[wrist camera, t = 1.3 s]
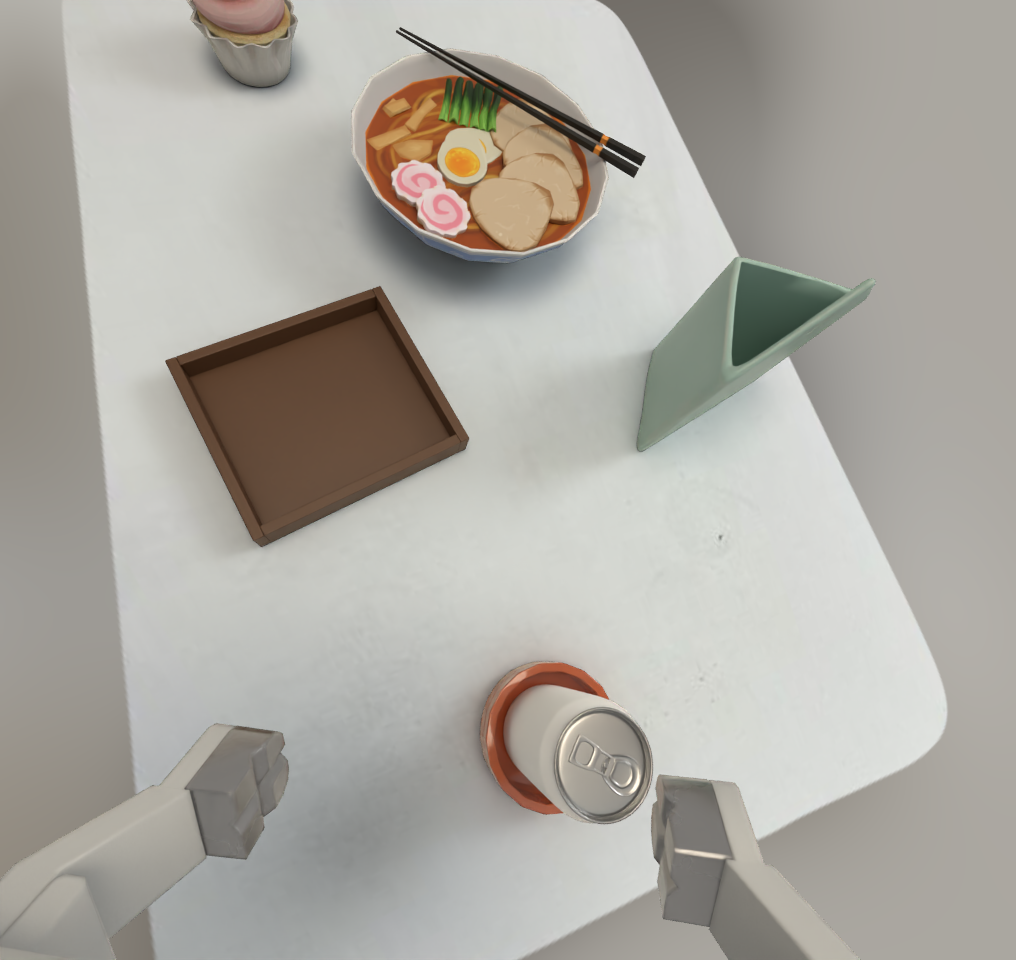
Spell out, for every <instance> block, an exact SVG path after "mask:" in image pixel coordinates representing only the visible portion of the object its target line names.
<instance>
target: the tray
mask: <svg viewBox="0 0 1016 960" xmlns="http://www.w3.org/2000/svg"><path fill="white" fill-rule="evenodd" d="M166 364H167V366H168V368H169V370H170V372H171V374H172V376H173V378H174V380H175V382H176V384H177V386H178V388H179V390H180V392H181V394H182V396H183V399H184V401H185V403H186V405H187V407H188V409H189V411H190V413H191V415H192V417H193V419H194V421H195V423H196V425H197V427H198V429H199V431H200V433H201V435H202V437H203V439H204V441H205V443H206V445H207V447H208V450H209V452H210V454H211V456H212V458H213V460H214V462H215V464H216V466H217V468H218V470H219V472H220V474H221V476H222V478H223V480H224V482H225V484H226V486H227V488H228V490H229V492H230V494H231V496H232V499H233V501H234V503H235V505H236V507H237V509H238V511H239V513H240V515H241V517H242V519H243V521H244V523H245V525H246V527H247V529H248V531H249V533H250V535H251V537H252V539H253V541H255V542H256V543H257V544H259V545H260V546H261V547H263V546H265V545H267V544H269V543H271V542H273V541H275V540H277V539H279V538H281V537H283V536H286V535H288V534H290V533H292V532H294V531H296V530H298V529H300V528H302V527H304V526H306V525H308V524H310V523H312V522H315V521H317V520H319V519H321V518H323V517H325V516H327V515H329V514H331V513H333V512H335V511H337V510H339V509H342V508H344V507H346V506H348V505H350V504H352V503H354V502H356V501H358V500H360V499H362V498H364V497H366V496H369V495H371V494H373V493H375V492H377V491H379V490H381V489H383V488H385V487H387V486H389V485H391V484H393V483H396V482H398V481H400V480H402V479H404V478H406V477H408V476H410V475H412V474H414V473H416V472H418V471H420V470H422V469H425V468H427V467H429V466H431V465H433V464H435V463H437V462H439V461H441V460H443V459H445V458H447V457H449V456H452V455H454V454H456V453H458V452H460V451H462V450H464V449H465V448H466V446H467V443H468V440H469V437H468V435H467V433H466V432H465V430H464V428H463V427H462V425H461V423H460V421H459V420H458V418H457V416H456V415H455V413H454V411H453V410H452V408H451V406H450V404H449V403H448V401H447V399H446V398H445V396H444V394H443V392H442V391H441V389H440V387H439V386H438V384H437V382H436V380H435V379H434V377H433V375H432V374H431V372H430V370H429V368H428V367H427V365H426V363H425V362H424V360H423V358H422V356H421V355H420V353H419V351H418V350H417V348H416V346H415V345H414V343H413V341H412V339H411V338H410V336H409V334H408V333H407V331H406V329H405V327H404V326H403V324H402V322H401V321H400V319H399V317H398V315H397V314H396V312H395V310H394V309H393V307H392V305H391V303H390V302H389V300H388V298H387V297H386V295H385V293H384V292H383V290H382V288H381V286H379V287H376V288H373V289H371V290H368V291H365V292H362V293H359V294H356V295H353V296H350V297H347V298H345V299H342V300H339V301H336V302H333V303H330V304H327V305H324V306H321V307H318V308H316V309H313V310H310V311H307V312H304V313H301V314H298V315H295V316H292V317H290V318H287V319H284V320H281V321H278V322H275V323H272V324H269V325H266V326H264V327H261V328H258V329H255V330H252V331H249V332H246V333H243V334H240V335H238V336H235V337H232V338H229V339H226V340H223V341H220V342H217V343H214V344H211V345H209V346H206V347H203V348H200V349H197V350H194V351H191V352H188V353H185V354H183V355H180V356H177V358H176V357H174V358H171V359H168V360H166Z"/></svg>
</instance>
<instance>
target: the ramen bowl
mask: <svg viewBox="0 0 1016 960" xmlns="http://www.w3.org/2000/svg"><path fill="white" fill-rule="evenodd" d="M399 29H400V30H401V31H403V32H405V33H407V34H408V35H410V36H412V37H414V38H415V39H417V40H419V41H421V42H422V43H424V44H426V45H428V46H430V47H431V48H433V49H435V50H437V51H432V50H431V49H429V48H427V47H425V46H424V45H422V44H420V43H418V42H417V41H415V40H413V39H411V38H410V37H408V36H406V35H404V34H403V33H401V32H399V31H397V30H396V33H398V34H399V35H401V36H403V37H404V38H406V39H408V40H409V41H411V42H412V43H414V44H416V45H417V46H419V47H421V48H422V49H424V50H426V51H427V52H426V53H420V54H414V55H408V56H405V57H403V58H401V59H400V60H398V61H396V62H395V63H393V64H391V65H390V66H388V67H386V68H385V69H383V70H381V71H379V72H378V73H376V74H374V75H373V76H371V77H370V78H369V80H368V82H367V84H366V85H365V87H364V89H363V91H362V93H361V94H360V96H359V98H358V100H357V101H356V103H355V105H354V107H353V108H352V110H351V132H352V154H353V156H354V157H355V159H356V161H357V163H358V164H359V166H360V168H361V170H362V172H363V173H364V175H365V177H366V179H367V181H368V182H369V184H370V186H371V188H372V190H373V191H374V193H375V195H376V196H377V198H378V199H379V201H380V202H381V204H382V206H383V207H384V208H385V209H386V210H387V211H388V212H389V213H390V214H391V215H392V216H393V217H395V218H396V219H397V220H398V221H399V222H400V223H402V224H403V225H404V226H405V227H406V228H408V229H409V230H410V231H411V232H412V233H413V234H415V235H416V236H417V237H418V238H419V239H421V240H422V241H423V242H424V243H425V244H427V245H429V246H431V247H434V248H436V249H439V250H441V251H444V252H447V253H449V254H452V255H454V256H457V257H459V258H462V259H465V260H467V261H482V262H498V263H512V262H515V261H519V260H522V259H525V258H528V257H531V256H534V255H537V254H540V253H543V252H546V251H549V250H552V249H555V248H558V247H560V246H561V245H563V244H564V243H566V242H567V241H569V240H570V239H571V238H572V237H573V236H574V235H575V234H577V233H578V232H579V231H580V230H581V229H582V228H583V227H584V226H585V225H586V224H587V223H588V222H590V221H591V220H592V219H593V218H594V217H595V216H596V215H597V214H598V213H599V209H600V206H601V202H602V199H603V196H604V192H605V189H606V185H607V182H608V178H609V177H608V172H607V166H606V161H607V162H609V163H610V164H612V165H613V166H615V167H617V168H618V169H620V170H622V171H623V172H625V173H627V174H628V175H630V176H631V177H633V178H634V177H635V175H636V173H637V171H638V169H639V168H638V167H636V166H634V165H633V164H631V163H629V162H627V161H626V160H624V159H622V158H620V157H619V156H617V155H615V154H613V153H612V152H610V151H608V150H606V149H605V148H603V145H602V144H604V145H605V146H606V147H608V148H610V149H611V150H613V151H615V152H617V153H618V154H620V155H622V156H624V157H626V158H627V159H629V160H631V161H633V162H634V163H636V164H638V165H640V166H641V165H642V163H643V161H644V159H645V157H646V156H644V155H642V154H641V153H639V152H637V151H635V150H633V149H631V148H629V147H627V146H625V145H623V144H622V143H620V142H618V141H616V140H614V139H612V138H610V137H607V136H605V135H604V134H603V133H601V132H599V131H597V130H595V129H594V128H593V126H592V125H591V123H590V122H589V120H588V119H587V117H586V116H585V114H584V113H583V111H582V110H581V108H580V107H579V105H578V104H577V103H576V102H574V101H573V100H572V99H571V98H570V97H568V96H567V95H566V94H565V93H564V92H562V91H561V90H560V89H559V88H557V87H556V86H555V85H554V84H553V83H551V82H550V81H549V80H548V79H546V78H545V77H544V76H543V75H541V74H539V73H537V72H534V71H532V70H530V69H527V68H525V67H523V66H520V65H518V64H516V63H513V62H511V61H509V60H507V59H504V58H502V57H500V56H497V55H490V54H484V53H477V52H470V51H464V50H457V49H451V48H450V49H444V50H443V49H441V48H439V47H437V46H435V45H433V44H431V43H429V42H427V41H425V40H424V39H422V38H420V37H418V36H416V35H414V34H412V33H410V32H408V31H406V30H405V29H403V28H401V27H400V28H399Z"/></svg>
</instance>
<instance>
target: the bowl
mask: <svg viewBox="0 0 1016 960" xmlns="http://www.w3.org/2000/svg"><path fill="white" fill-rule="evenodd" d="M542 684H550V685H556V686H560V687H565V688H569V689H573V690H577V691H581V692H584V693H588V694H592V695H596V696H599V697H603V698H605V699H608V700H609V698H608V696H607V695H606V693H605V691H604V689H603V688H602V686H601V685H600V684H599V683H598V682H596V681H595V680H594V679H593V678H592V677H591V676H589V675H588V674H587V673H586V672H585V671H583V670H581V669H578V668H576V667H573V666H570V665H568V664H565V663H560V662H530V663H528V664H525V665H522V666H520V667H518V668H516V669H514V670H512V671H510V672H509V673H508V674H507V675H505V676H504V677H503V678H502V679H501V680H500V681H499V682H498V683H497V685H496V686H495V687H494V689H493V690H492V692H491V693H490V695H489V697H488V699H487V701H486V704H485V706H484V709H483V713H482V718H481V725H480V740H481V747H482V752H483V757H484V760H485V762H486V763H487V765H488V768H489V769H490V771H491V773H492V775H493V777H494V779H495V780H496V781H497V783H498V784H499V785H500V787H501V788H502V789H503V791H505V792H506V793H507V794H508V795H509V796H510V797H511V798H512V799H514V800H515V801H516V802H517V803H518V804H519V805H520V806H522V807H524V808H527V809H530V810H533V811H536V812H539V813H542V814H546V815H547V814H559V813H563V812H562V811H561V810H560V809H558V808H557V807H556V806H555V805H554V804H553V803H552V802H551V801H550V800H549V799H548V798H547V797H546V796H545V795H544V794H543V793H542V792H541V791H540V790H539V789H538V788H537V787H536V786H535V785H534V784H533V783H532V782H531V781H530V780H529V779H528V778H527V777H526V776H525V775H524V774H523V773H522V772H521V771H520V770H519V769H518V768H517V767H516V766H515V764H514V763H513V762H512V760H511V759H510V757H509V755H508V753H507V750H506V747H505V743H504V736H503V728H504V721H505V717H506V714H507V711H508V709H509V707H510V705H511V704H512V702H513V701H514V700H515V699H516V697H517V696H518V695H519V694H521V693H522V692H523V691H525V690H526V689H528V688H530V687H533V686H536V685H542Z"/></svg>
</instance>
